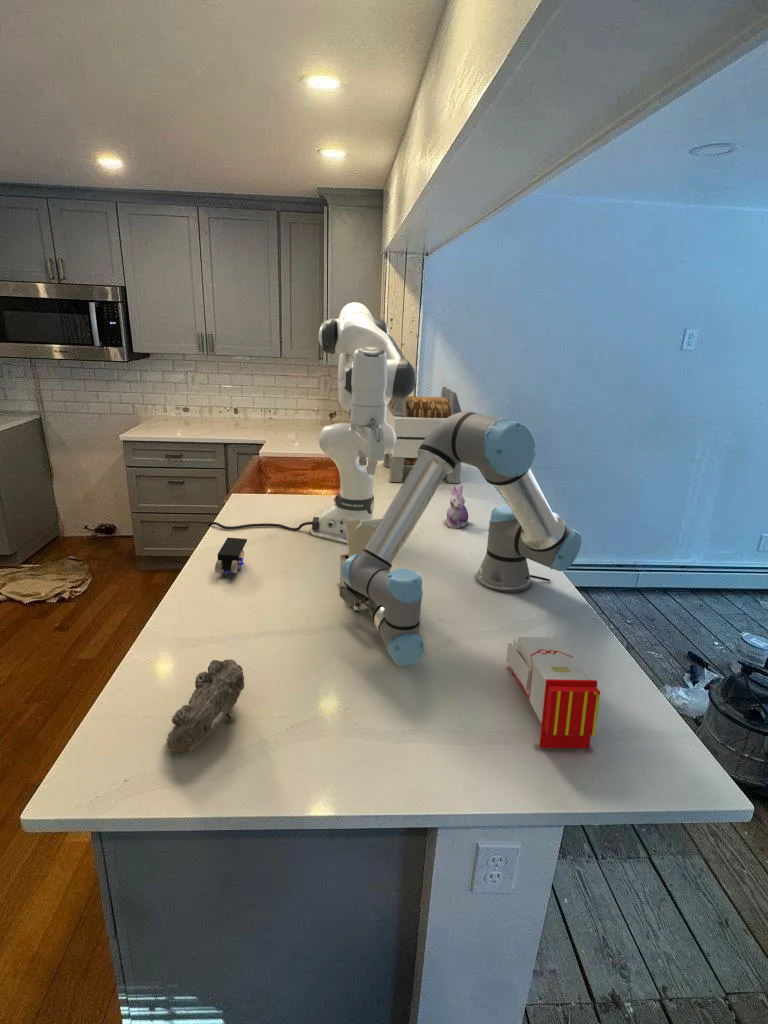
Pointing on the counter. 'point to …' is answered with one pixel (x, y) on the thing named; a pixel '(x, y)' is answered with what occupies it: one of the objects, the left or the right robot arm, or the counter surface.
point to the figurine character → (230, 556)
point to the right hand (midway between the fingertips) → (365, 575)
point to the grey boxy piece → (417, 429)
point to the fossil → (206, 705)
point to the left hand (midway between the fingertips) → (366, 469)
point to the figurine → (457, 509)
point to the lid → (359, 534)
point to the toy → (555, 691)
